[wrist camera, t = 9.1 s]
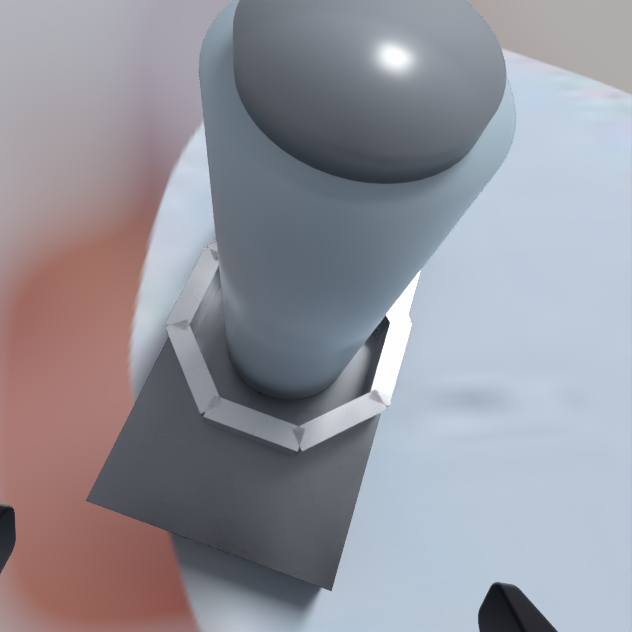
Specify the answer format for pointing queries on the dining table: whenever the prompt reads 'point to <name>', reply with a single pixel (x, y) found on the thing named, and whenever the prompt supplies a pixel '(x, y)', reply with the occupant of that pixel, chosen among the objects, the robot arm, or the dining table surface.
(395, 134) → the grey capped canister
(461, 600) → the dining table surface
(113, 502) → the motor mount
